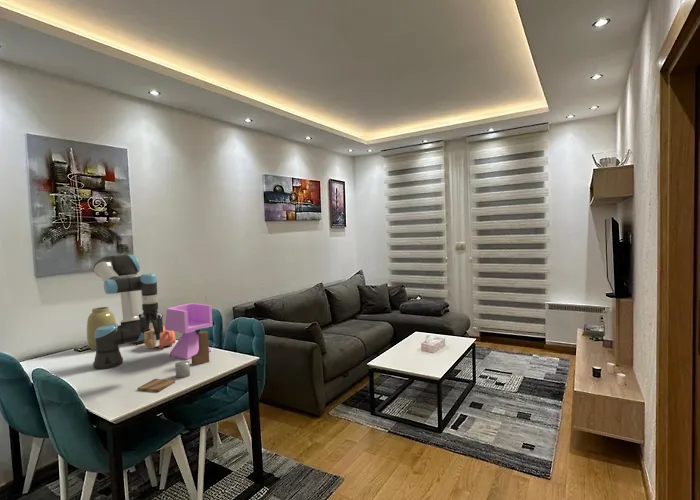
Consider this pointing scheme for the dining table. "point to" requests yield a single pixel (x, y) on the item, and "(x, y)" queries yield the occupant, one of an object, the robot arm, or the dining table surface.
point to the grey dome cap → (182, 369)
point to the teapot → (166, 338)
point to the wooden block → (202, 349)
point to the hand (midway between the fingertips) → (152, 345)
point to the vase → (98, 323)
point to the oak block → (149, 339)
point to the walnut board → (156, 385)
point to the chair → (188, 327)
